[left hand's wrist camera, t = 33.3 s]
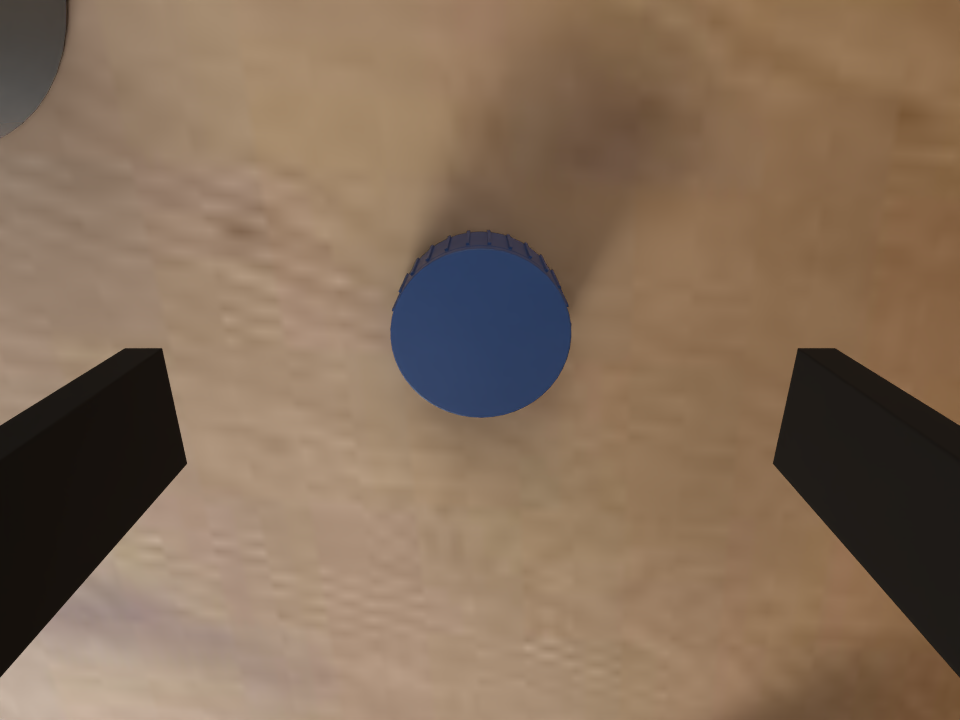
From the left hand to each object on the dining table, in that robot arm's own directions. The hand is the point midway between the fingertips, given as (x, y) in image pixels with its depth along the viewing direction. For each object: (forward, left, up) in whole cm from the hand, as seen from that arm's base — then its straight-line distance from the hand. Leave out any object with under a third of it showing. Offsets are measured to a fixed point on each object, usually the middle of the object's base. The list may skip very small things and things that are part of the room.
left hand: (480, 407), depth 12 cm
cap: (0, 0, -3) cm, 3 cm away
